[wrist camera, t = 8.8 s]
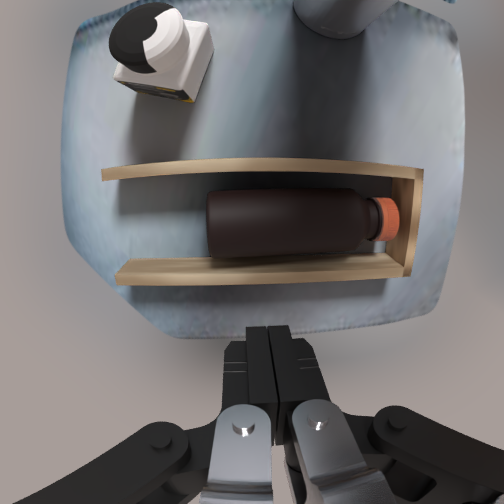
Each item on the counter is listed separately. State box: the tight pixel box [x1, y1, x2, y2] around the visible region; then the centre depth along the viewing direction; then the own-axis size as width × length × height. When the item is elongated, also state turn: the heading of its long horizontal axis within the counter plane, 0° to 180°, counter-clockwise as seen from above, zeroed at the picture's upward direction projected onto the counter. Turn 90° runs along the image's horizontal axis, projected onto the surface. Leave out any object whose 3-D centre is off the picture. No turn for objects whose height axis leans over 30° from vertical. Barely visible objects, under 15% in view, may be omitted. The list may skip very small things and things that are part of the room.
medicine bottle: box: [109, 2, 214, 103], centre depth 20 cm, size 7×7×12 cm
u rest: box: [101, 158, 424, 286], centre depth 29 cm, size 12×33×5 cm, turn 91°
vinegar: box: [206, 188, 399, 259], centre depth 29 cm, size 7×7×20 cm
